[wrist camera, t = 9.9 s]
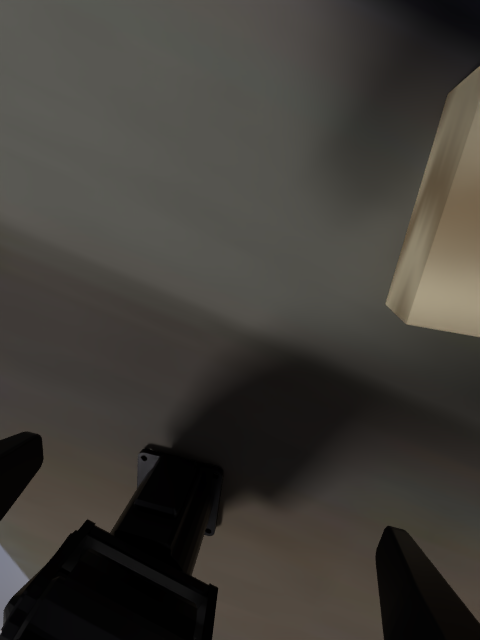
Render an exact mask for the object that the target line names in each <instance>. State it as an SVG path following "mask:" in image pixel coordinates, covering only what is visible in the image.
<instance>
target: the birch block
mask: <svg viewBox="0 0 480 640" xmlns="http://www.w3.org/2000/svg"><path fill="white" fill-rule="evenodd" d="M385 305H387V306H388V307H389V308H390V309H391V310H392V311H393V312H394V313H395V314H396V315H397V316H398V317H399V318H400V319H401V320H402V321H403V322H405V323H406V324H408V325H414V326H419V327H425V328H431V329H436V330H442V331H448V332H453V333H459V334H465V335H470V336H476V337H480V66H479V67H478V68H477V69H476V70H474V71H473V72H472V73H471V74H470V75H469V76H468V77H466V78H465V79H464V80H463V81H462V82H461V83H460V84H458V85H457V86H456V87H455V88H454V89H453V90H452V91H451V92H449V93H448V96H447V99H446V102H445V106H444V109H443V112H442V116H441V119H440V122H439V126H438V129H437V132H436V136H435V139H434V143H433V146H432V149H431V153H430V156H429V159H428V163H427V166H426V169H425V173H424V176H423V179H422V183H421V186H420V190H419V193H418V196H417V200H416V203H415V206H414V210H413V213H412V216H411V220H410V223H409V226H408V230H407V233H406V237H405V240H404V243H403V247H402V250H401V253H400V257H399V260H398V263H397V267H396V270H395V273H394V277H393V280H392V284H391V287H390V290H389V294H388V297H387V300H386V304H385Z"/></svg>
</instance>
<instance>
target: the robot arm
mask: <svg viewBox="0 0 480 640" xmlns="http://www.w3.org/2000/svg"><path fill="white" fill-rule="evenodd" d="M145 456H146V457H145ZM42 463H43V446H42V438H41V436H40V435H39V434H35V433H32V432H22V433H19V434H16V435H13V436H11V437H8V438H5V439H3V440H0V521H1V520H2V518H3V517H4V516H5V514H6V513H7V512H8V510H9V509H10V508H11V506H12V505H13V504H14V502H15V501H16V500H17V498H18V497H19V496H20V494H21V493H22V492H23V490H24V489H25V488H26V486H27V485H28V484H29V482H30V481H31V480H32V478H33V477H34V476H35V474H36V473H37V471H38V470H39V469H40V467H41V465H42ZM214 473H216V474H218V475H216V474H214ZM222 480H223V470H222V469H221V468H219V467H217V466H213V465H209V464H205V463H201V462H197V461H193V460H189V459H185V458H181V457H177V456H173V455H169V454H165V453H161V452H157V451H153V450H149V449H143V450H141V452H140V453H139V455H138V473H137V490H136V491H135V493H134V495H133V496H132V498H131V500H130V501H129V503H128V505H127V506H126V508H125V509H124V511H123V513H122V514H121V516H120V518H119V519H118V521H117V522H116V524H115V526H114V527H113V529H112V531H111V532H110V533H109V532H107V531H105V530H103V529H101V528H99V527H97V526H95V523H94V522H92V521H90V520H88V519H87V520H86V522H85V523H84V524H83V525H82V526H81V528H80V529H79V530H78V531H77V530H75V531H74V532H73V533H71V534H70V535H69V536H68V537H67V539H66V540H65V541H64V543H63V544H62V545H61V547H60V548H59V550H58V551H57V552H56V553H55V555H54V556H53V557H52V558H51V559H50V561H49V562H48V563H47V564H46V565H45V566H44V567H43V568H42V569H41V570H40V571H39V572H38V573H37V574H36V575H35V576H34V577H33V578H32V579H31V580H30V581H28V582H27V583H26V585H24V586H23V587H22V588H21V589H20V590H19V591H18V592H17V593H16V594H15V595H14V596H13V597H12V598H11V599H10V601H9V602H8V604H7V605H6V607H5V609H4V621H3V627H2V629H1V631H0V640H212V634H213V626H214V618H215V610H216V601H217V593H218V587H216V586H214V585H212V584H209V585H208V584H206V583H204V582H202V581H200V580H198V579H196V578H194V577H192V572H193V569H194V566H195V563H196V559H197V556H198V553H199V550H200V546H201V543H202V540H203V537H204V535H207V536H212V535H214V533H215V529H216V523H217V516H218V509H219V501H220V494H221V487H222ZM376 569H377V579H378V588H379V597H380V607H381V616H382V626H383V634H384V640H480V623H479V622H478V621H477V620H476V618H475V617H474V616H473V614H472V613H471V612H470V611H469V609H468V608H467V607H466V606H465V604H464V603H463V602H462V601H461V599H460V598H459V597H458V595H457V594H456V593H455V592H454V590H453V589H452V588H451V587H450V585H449V584H448V583H447V582H446V580H445V579H444V578H443V576H442V575H441V574H440V573H439V571H438V570H437V569H436V568H435V566H434V565H433V564H432V563H431V561H430V560H429V559H428V557H427V556H426V555H425V554H424V552H423V551H422V550H421V549H420V547H419V546H418V545H417V544H416V542H415V541H414V540H413V538H412V537H411V536H410V535H409V534H408V533H407V532H406V531H405V530H403V529H399V528H396V527H392V526H387V527H386V528H385V529H384V532H383V534H382V537H381V539H380V542H379V544H378V547H377V550H376Z"/></svg>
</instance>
